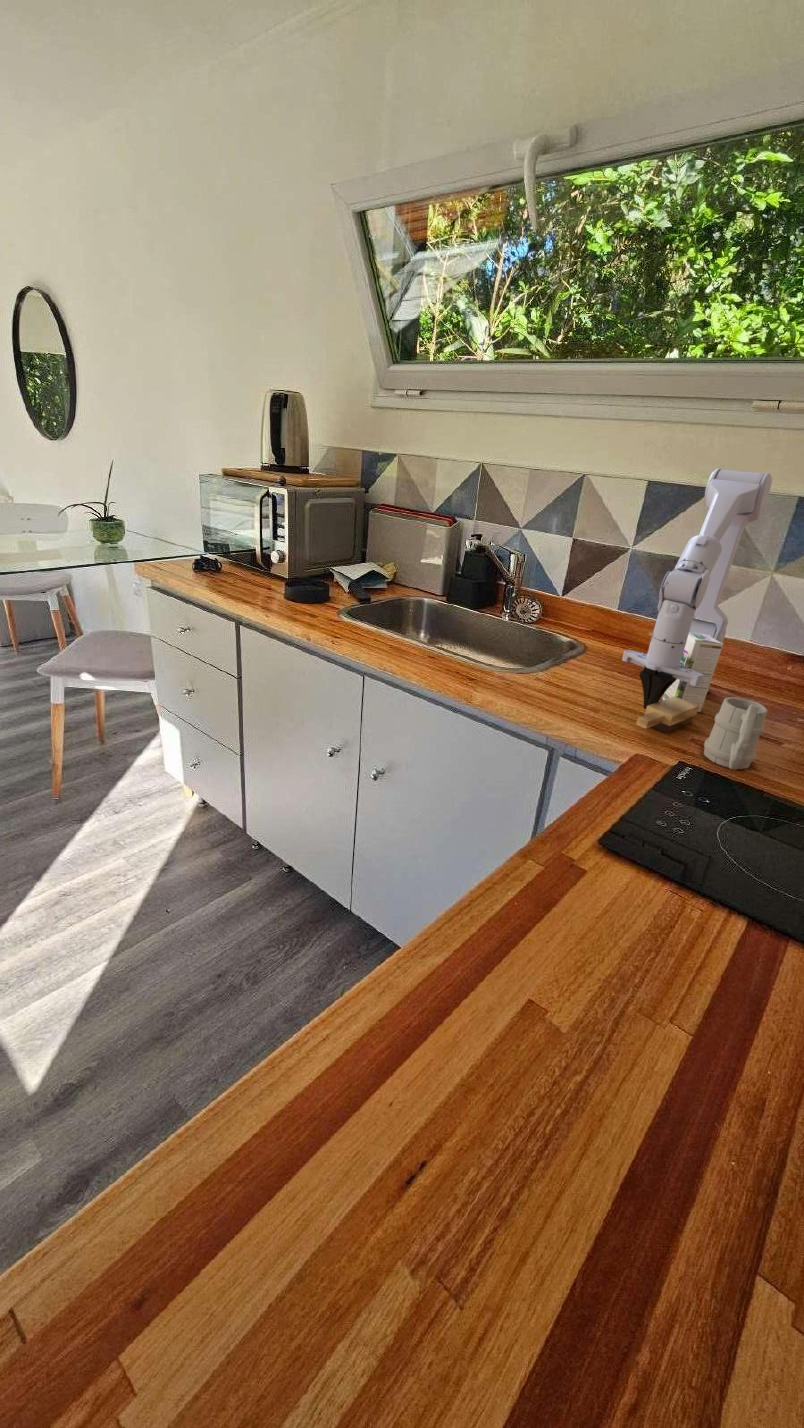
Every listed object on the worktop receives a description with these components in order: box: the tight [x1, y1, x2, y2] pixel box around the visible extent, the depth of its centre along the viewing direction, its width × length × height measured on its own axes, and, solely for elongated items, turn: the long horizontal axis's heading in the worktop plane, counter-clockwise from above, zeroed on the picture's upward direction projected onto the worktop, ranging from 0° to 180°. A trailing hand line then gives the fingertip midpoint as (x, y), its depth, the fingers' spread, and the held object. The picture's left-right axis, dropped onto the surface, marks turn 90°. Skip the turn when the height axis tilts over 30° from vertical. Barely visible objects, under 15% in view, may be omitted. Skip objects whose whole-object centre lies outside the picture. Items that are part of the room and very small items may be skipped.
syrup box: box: [662, 633, 724, 713], centre depth 117 cm, size 6×6×14 cm
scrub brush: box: [635, 696, 699, 734], centre depth 108 cm, size 16×5×4 cm, turn 129°
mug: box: [703, 696, 768, 770], centre depth 95 cm, size 8×12×12 cm, turn 158°
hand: (649, 708), depth 112 cm, fingers closed
